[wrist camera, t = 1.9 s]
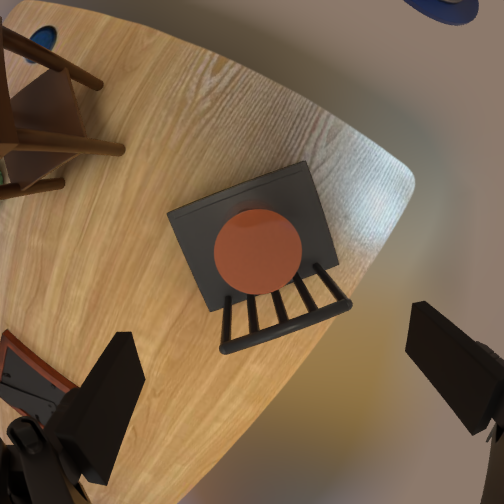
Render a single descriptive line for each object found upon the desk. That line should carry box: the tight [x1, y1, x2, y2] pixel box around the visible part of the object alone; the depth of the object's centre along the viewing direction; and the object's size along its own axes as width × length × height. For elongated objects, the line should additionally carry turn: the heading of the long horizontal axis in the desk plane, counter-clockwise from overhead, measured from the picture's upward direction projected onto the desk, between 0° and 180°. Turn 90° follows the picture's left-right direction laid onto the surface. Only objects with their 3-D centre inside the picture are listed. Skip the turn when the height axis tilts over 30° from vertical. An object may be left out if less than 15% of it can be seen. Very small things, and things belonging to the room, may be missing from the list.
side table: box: [0, 17, 125, 200], centre depth 23 cm, size 12×12×24 cm
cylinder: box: [214, 199, 302, 295], centre depth 33 cm, size 8×8×10 cm
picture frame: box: [0, 330, 79, 429], centre depth 44 cm, size 20×2×25 cm
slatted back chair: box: [167, 161, 353, 355], centre depth 32 cm, size 18×14×14 cm
